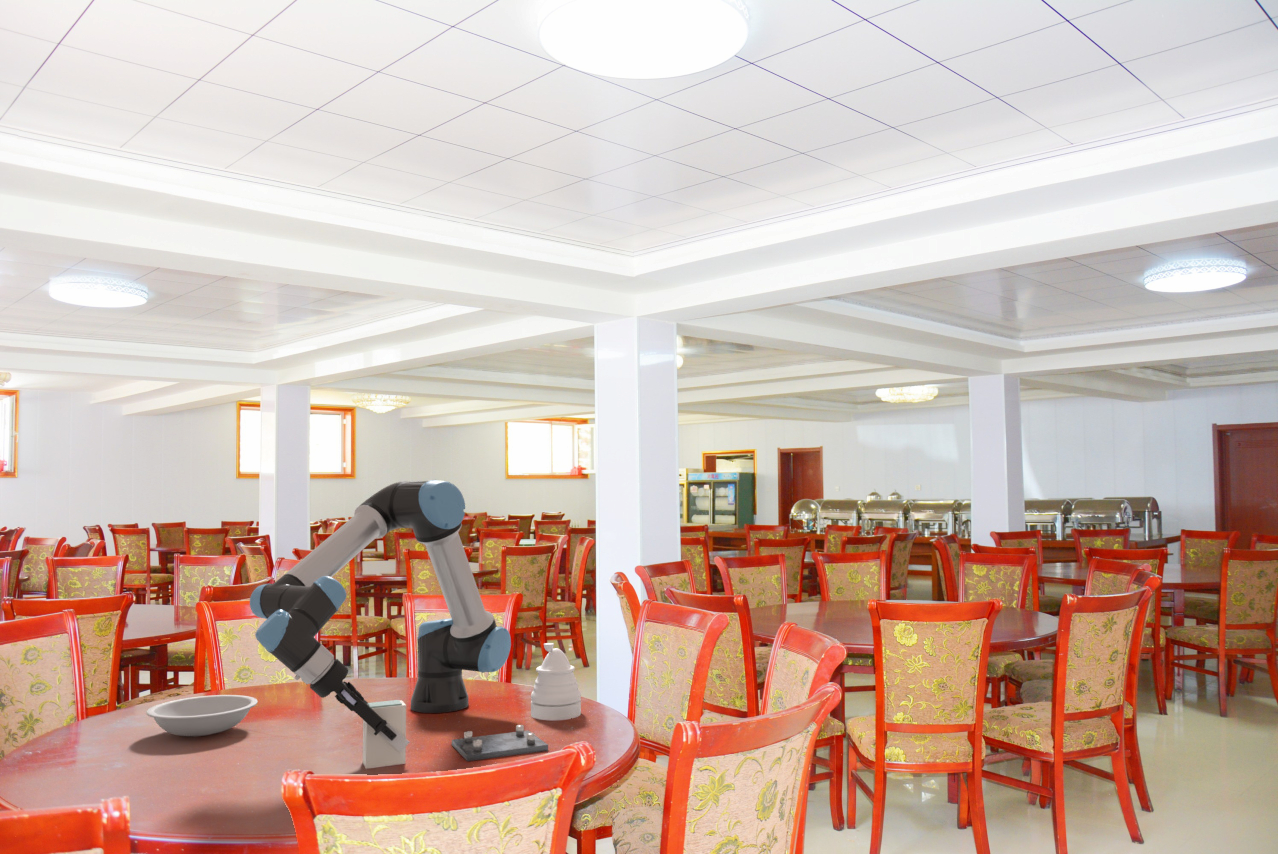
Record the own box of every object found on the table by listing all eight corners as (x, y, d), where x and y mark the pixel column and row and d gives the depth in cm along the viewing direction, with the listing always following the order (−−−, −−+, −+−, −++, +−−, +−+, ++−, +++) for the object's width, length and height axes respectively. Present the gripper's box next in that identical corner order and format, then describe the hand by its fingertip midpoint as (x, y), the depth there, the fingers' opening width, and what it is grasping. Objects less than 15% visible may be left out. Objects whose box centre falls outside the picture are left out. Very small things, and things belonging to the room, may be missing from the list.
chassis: (451, 745, 200) (451, 730, 200) (528, 735, 207) (528, 721, 208) (467, 761, 187) (467, 745, 187) (548, 750, 195) (548, 735, 195)
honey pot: (541, 722, 220) (541, 648, 221) (523, 712, 231) (523, 641, 232) (589, 716, 226) (588, 644, 227) (569, 706, 237) (569, 638, 238)
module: (362, 762, 187) (363, 702, 188) (401, 757, 191) (401, 698, 192) (365, 768, 183) (366, 707, 184) (405, 763, 186) (406, 703, 187)
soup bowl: (278, 726, 218) (279, 699, 219) (193, 752, 196) (194, 721, 197) (210, 717, 228) (211, 691, 229) (121, 740, 207) (122, 711, 207)
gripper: (304, 678, 190) (381, 747, 196) (312, 694, 173) (396, 769, 179) (330, 650, 193) (406, 719, 198) (341, 664, 176) (423, 739, 181)
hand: (401, 743), depth 189 cm, fingers open, 6 cm apart
